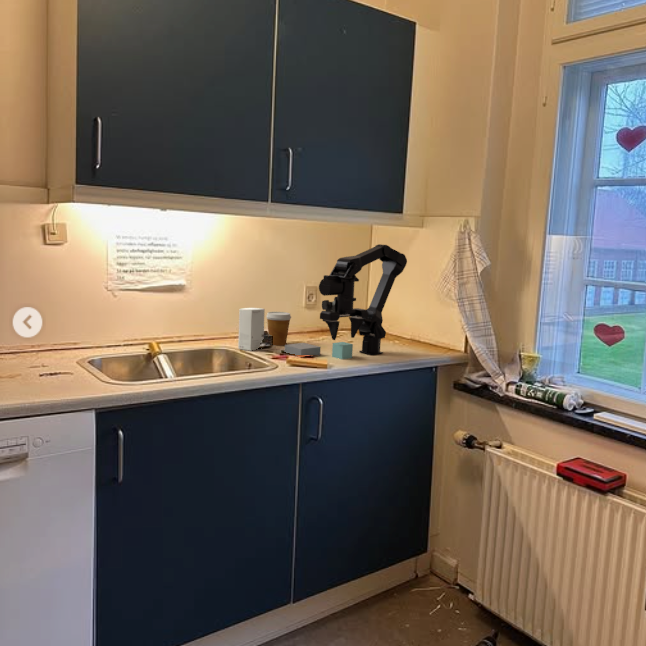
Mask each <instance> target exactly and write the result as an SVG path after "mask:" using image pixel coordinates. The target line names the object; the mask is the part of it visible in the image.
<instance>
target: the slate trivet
mask: <svg viewBox="0 0 646 646" xmlns="http://www.w3.org/2000/svg"><path fill="white" fill-rule="evenodd" d="M283 352H286V353H290V354H295V355H318V356H321V346H319V345H315V344H310V343H306V342H299V343H298V342H297V343H290V344H286V345H284V351H283Z"/></svg>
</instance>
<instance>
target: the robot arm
mask: <svg viewBox="0 0 646 646" xmlns="http://www.w3.org/2000/svg"><path fill="white" fill-rule="evenodd" d="M377 260H379V261H381V262H382V264H381V269H382V274H381V277H380V280H379V282H378V284H377V287H376V290H375V292H374V294H373V297H372V299H371V301H370V304H369V306H368V307H367V309H366V308H365V309H364V308H359V307H358V308H357V307H356V308H354V302H356V301H357V298H356V297H354V296H355V282H357V283H358V282H359V281H360V279H359V278H358V277H357V276H356V275H357V274H358V273H359V272H361V270H362V268H363V267H365V266H366V265H369V264H370V263H373V262H375V261H377ZM407 263H408V260H407V256H406V255H405V254H404V253H401V252H400V251H398V250H397V249H393V248H392V247H391V246H389V245H387V244H382V243H381V244H376V245H375V246H374V247H372V248H369V249H367V250H365V251H362V252H360V253H358V254H356V255H351V256H344V257H340V258H338V259H337V260H336V263H335V265H334V266H333V268H332V270H331V272H330V273H329V275H325V274H324V275H323V278H322V279H321V280H320V282H319V284H318V289H319V294H321V295H322V296H324V297H325V296H334V298H333V301H330V300H329V299H325V300H322V301H321V309H322V310H321V312H320V313H319V319H320V320H322V321H323V322H324V323H326V325H327V327H328V329H329V333H330V336H331V339H332V340H333V341H336V339H337V336H338V331H339V327H340V322H341V321H340V320H339V319H340V318H348V319H349V321H350V338H352V339H354V338H355V336H356V335H357V333H359V336H362V343H361V345H362V346H361V350H359V353H361V354H366V355H369V356H374V355H381V354H384V351H381V343H382V340H383V339H385V338H386V335H387V331H386V329H385V328H384V327H383V320H384V319H383V314H382V313H383V310H384V308H385V305H386V302H387V301H388V298H389V295H390V293H391V290H392V287H393V285H394V283H395V280H396V278H397V277H399V275H400V274H402V273H403V271H404V270H405V268H406V266H407Z"/></svg>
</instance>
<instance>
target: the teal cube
mask: <svg viewBox="0 0 646 646" xmlns="http://www.w3.org/2000/svg"><path fill="white" fill-rule="evenodd" d="M353 348H354V344H353V343H350V342H345V341H339V342H332V348H331V349H332V350H331V351H332V352H331V357H332V358H335V359H338V358H339V359H338V360H346V359H353Z"/></svg>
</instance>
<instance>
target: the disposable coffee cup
mask: <svg viewBox="0 0 646 646" xmlns="http://www.w3.org/2000/svg"><path fill="white" fill-rule="evenodd" d="M265 317H266V321H267V322H266V323H267V330H268V331H267V332H268V333H269V334H270V335H272V336H273V345H274V347H275V346H276V347H282V346H284V347H285V345H287V338H288V333H289V327H290V320H291V319H292V316H291V313H290V312H285V311H268V312H267V313H266V315H265ZM269 334H268V335H269ZM273 345H272V346H273Z"/></svg>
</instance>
